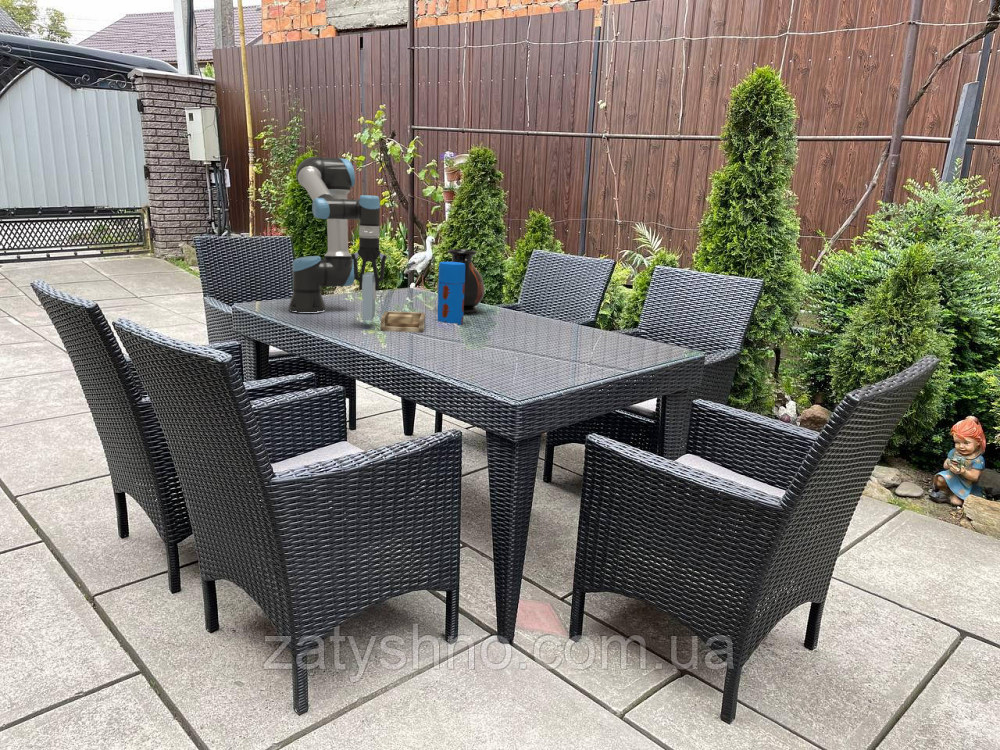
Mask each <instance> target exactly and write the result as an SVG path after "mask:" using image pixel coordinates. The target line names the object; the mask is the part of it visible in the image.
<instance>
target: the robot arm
mask: <svg viewBox="0 0 1000 750" xmlns="http://www.w3.org/2000/svg"><path fill="white" fill-rule="evenodd" d="M296 168H297V169H296V173H295V174H296V179H297V181H298V183H299V184H300V186H301V187H302V188H304V189H305V190H306V191H307V194H308V195H309V197H310V198H311V200H312V204H311V205H312V206H311V207H312V208H311V209H312V215H313V216H314V218H316V219H322V220H326V221H327V223H326V226H327V231H326V232H327V252H326V253H325V254H324V259H322V258H321V256H320V255H313V256H312V255H309V256H300V257H298V258H295V259H293V261H292V269H291V270H292V295H291V299H290V302H289V306H288V311H289V310H291V311H297V312H317V311H323V310H325V311H326V305H325V302H324V298H323V297H322V290H321V289H322V288H323V287H324V288H325V287H327V288H328V287H330V288H332V287H341V288H343V287H350V286H352V285H353V284H354V283H355V281H357V282H358V285H359V287H358V289H359V290H361V300H363V275H364V274H365V273H366V272H365V271H366V266H367V263H368V262H369V263H371V265H372V270H373V271H372V273H374V277H375V282H373V299H375V300H376V298H377V291H379V287H380V285H379V283H380V282H382V281H384V277H385V263H386V260H387V257H388V255H387V254H383V253H382V252H381V250H380V238H379V237H380V220H381V219H380V218H381V217H380V216H381V215H380V213H381V211H380V209H381V205H380V203H381V202H380V197H379V196H378V195H371V194H370V195H367V194H364V195H363V194H361V195H360V196H359V199H358V198H357V199H350V198H349V199H348V194H350V192H351V188H353V187H354V186H355V183H356V182H355V181H356V174H355V169H354V166H353V164H352V162H351V161H350V160H349V159H346V158H341V157H326V156H325V157H322V156H311V157H308V158H305V159H304V160H303V161H301V162H300V163H299V165H298V167H296ZM348 220H352V221H353V220H354V221H355V220H356V221H357V220H358V221H359V223H358V224H359V225H358V227H359V228H358V229H359V230H358V232H359V233H358V234H359V236H360V237H359V239H358V241H359V243H358V250H357V252H354V253H350V252H349V236H348V235H349V231H348V230H349V229H348ZM359 257H360V258H361V260H362V262H361V267H360V273H359V266H358V264H359V263H358V258H359ZM379 257H380V260H381V261H380V272H379V271H378V268H377V259H378V258H379ZM359 274H360V275H359Z"/></svg>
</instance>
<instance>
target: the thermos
mask: <svg viewBox="0 0 1000 750" xmlns="http://www.w3.org/2000/svg"><path fill="white" fill-rule="evenodd" d="M438 281H439V282H438ZM438 281H437V285H438V293H437V321H438V322H440V323H445V324H457V326H461V325H463V323H464V315H465V314H464V290H465V263H460V262H452V261H441V262H439V265H438Z"/></svg>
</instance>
